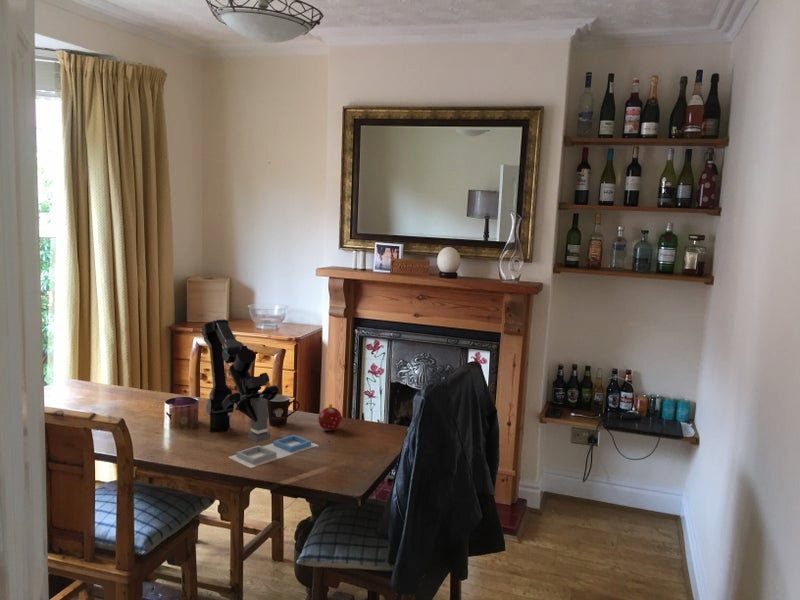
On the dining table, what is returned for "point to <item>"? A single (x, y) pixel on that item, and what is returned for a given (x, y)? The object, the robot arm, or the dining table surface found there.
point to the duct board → (272, 451)
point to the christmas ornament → (330, 418)
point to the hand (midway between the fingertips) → (261, 419)
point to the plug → (259, 421)
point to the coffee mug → (279, 410)
